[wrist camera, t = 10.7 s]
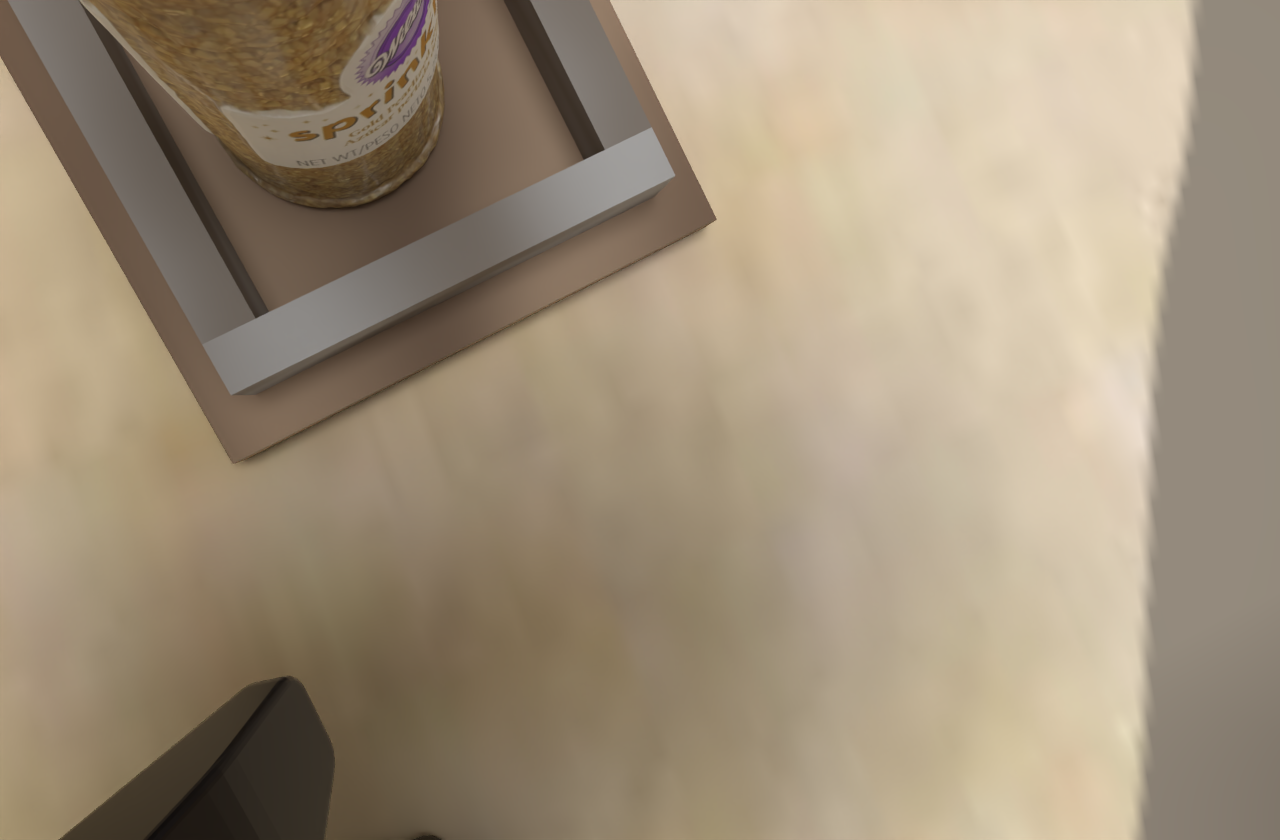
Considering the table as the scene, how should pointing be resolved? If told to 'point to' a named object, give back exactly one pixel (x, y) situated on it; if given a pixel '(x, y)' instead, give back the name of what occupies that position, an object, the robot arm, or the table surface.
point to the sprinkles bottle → (298, 86)
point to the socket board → (365, 207)
